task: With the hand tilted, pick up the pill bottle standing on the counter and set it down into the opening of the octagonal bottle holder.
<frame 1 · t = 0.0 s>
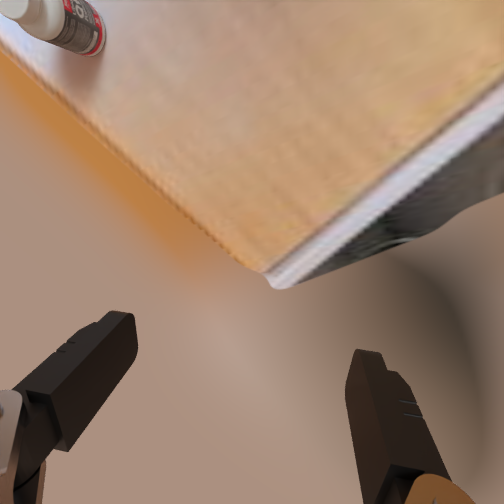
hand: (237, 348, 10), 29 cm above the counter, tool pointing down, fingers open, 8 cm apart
pill bottle: (87, 30, 33), on the counter
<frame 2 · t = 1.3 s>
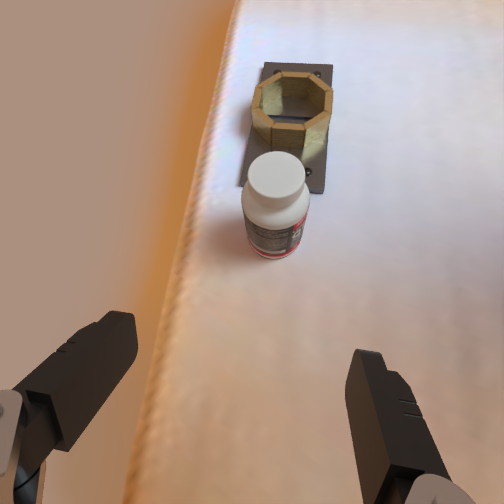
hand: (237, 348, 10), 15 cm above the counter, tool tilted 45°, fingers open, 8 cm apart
octagonal bottle holder: (290, 123, 33), on the counter
pill bottle: (274, 235, 28), on the counter
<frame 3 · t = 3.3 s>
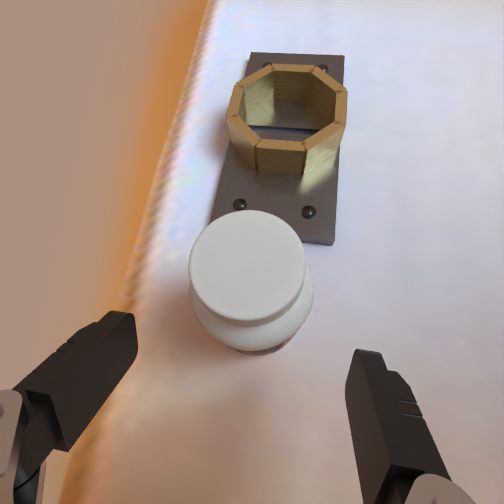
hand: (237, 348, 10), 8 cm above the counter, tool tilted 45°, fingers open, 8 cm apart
octagonal bottle holder: (285, 137, 24), on the counter
pill bottle: (258, 312, 18), on the counter
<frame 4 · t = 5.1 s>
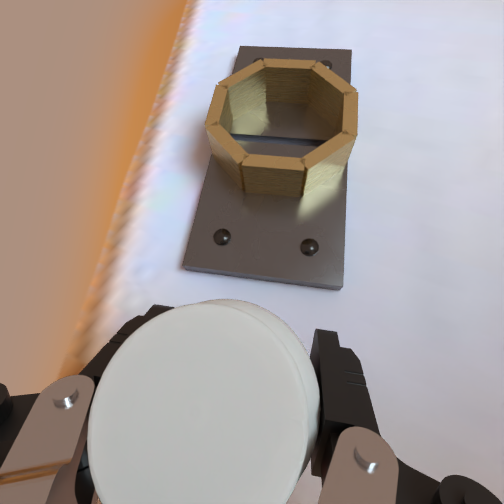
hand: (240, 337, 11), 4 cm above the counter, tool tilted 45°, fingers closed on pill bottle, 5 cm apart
octagonal bottle holder: (280, 149, 19), on the counter
pill bottle: (244, 381, 14), on the counter, touching gripper
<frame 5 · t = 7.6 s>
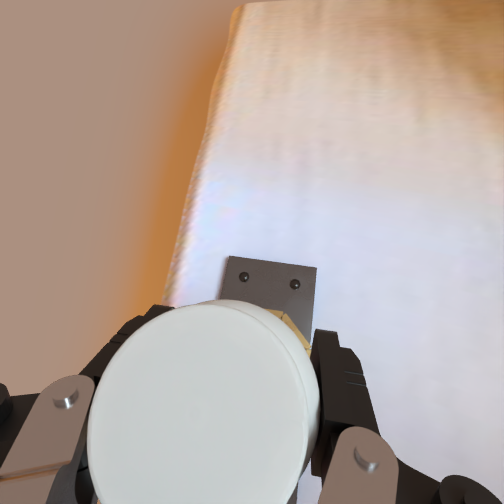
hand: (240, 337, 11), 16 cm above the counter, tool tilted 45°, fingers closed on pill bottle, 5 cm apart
octagonal bottle holder: (257, 362, 25), on the counter
pill bottle: (244, 382, 14), point 12 cm above the counter, touching gripper
when the fingers open (7 cm above the counter, at t = 10.4 s): pill bottle drops 1 cm, resting on octagonal bottle holder.
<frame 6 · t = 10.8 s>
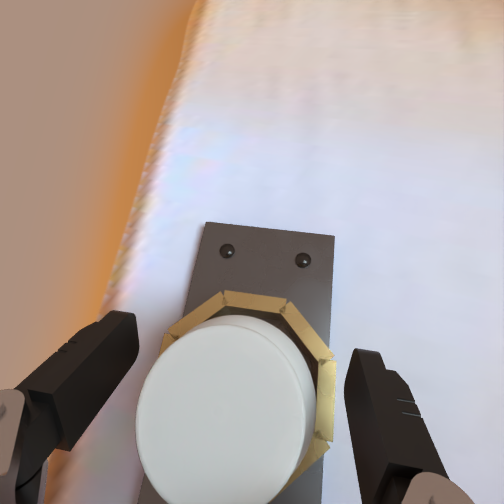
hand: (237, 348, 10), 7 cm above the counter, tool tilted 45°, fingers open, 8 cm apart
octagonal bottle holder: (247, 379, 16), on the counter
pill bottle: (248, 384, 16), point 1 cm above the counter, touching octagonal bottle holder
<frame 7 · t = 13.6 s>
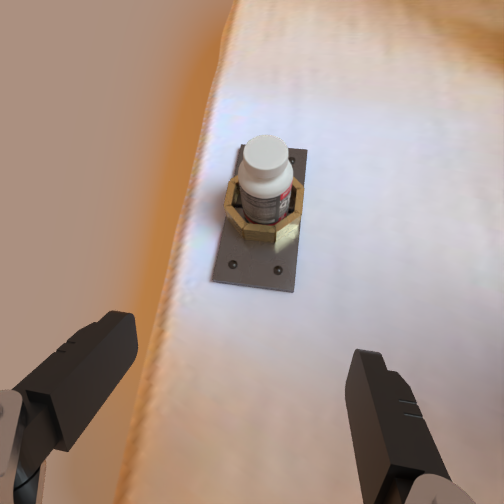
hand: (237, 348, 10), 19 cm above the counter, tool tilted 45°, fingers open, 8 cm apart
octagonal bottle holder: (264, 212, 34), on the counter
pill bottle: (265, 210, 33), point 1 cm above the counter, touching octagonal bottle holder
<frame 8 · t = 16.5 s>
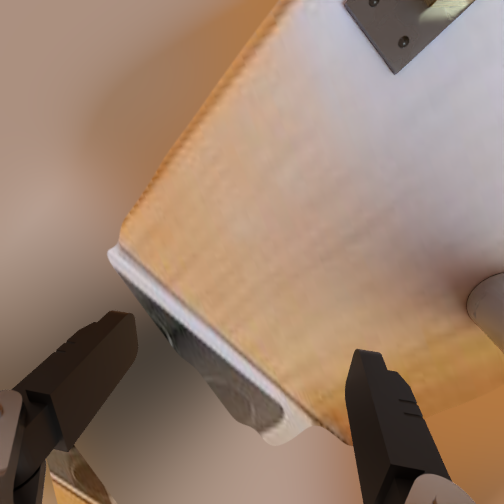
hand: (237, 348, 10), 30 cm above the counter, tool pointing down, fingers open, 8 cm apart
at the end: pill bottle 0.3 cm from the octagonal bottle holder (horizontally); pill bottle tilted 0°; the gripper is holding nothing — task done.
